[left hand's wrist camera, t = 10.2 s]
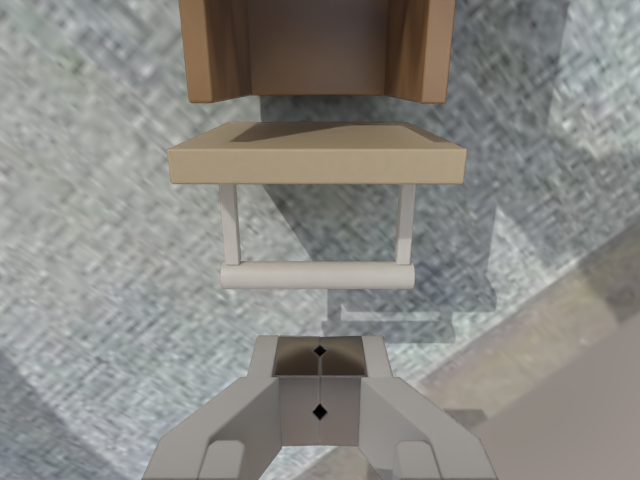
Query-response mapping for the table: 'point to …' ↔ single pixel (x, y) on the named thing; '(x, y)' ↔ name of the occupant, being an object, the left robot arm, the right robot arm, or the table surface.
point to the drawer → (317, 137)
